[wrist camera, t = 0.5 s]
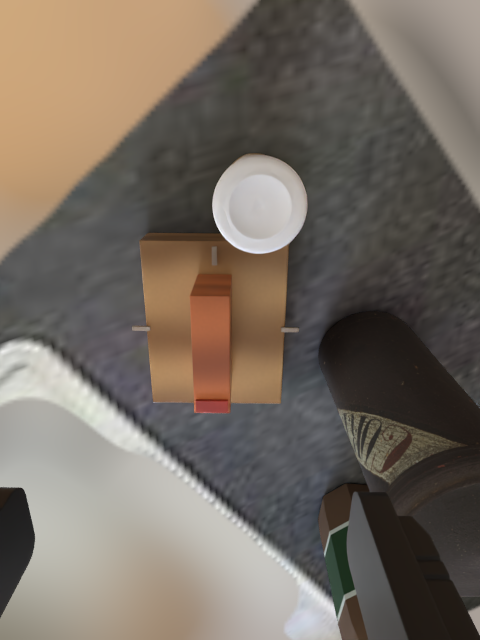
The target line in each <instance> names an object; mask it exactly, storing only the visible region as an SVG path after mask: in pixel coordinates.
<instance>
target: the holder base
mask: <svg viewBox="0 0 480 640" xmlns="http://www.w3.org/2000/svg"><path fill="white" fill-rule="evenodd" d="M140 253H141V265H142V277H143V288H144V300H145V312H146V324H147V326H132V329H133V331H147V335H148V347H149V359H150V371H151V382H152V394H153V402H187V403H194V389H193V365H192V341H191V316H190V294H191V291H192V289H193V286H194V283H195V280H196V277H197V275H198V274H226V275H232V387H231V403H281V390H282V371H283V352H284V332H299V327H285V313H286V294H287V275H288V255H289V243H288V244H287V245H286V246H284V247H282V248H281V249H278V250H276V251H273V252H270V253H263V254H255V253H249V252H245V251H242V250H240V249H238V248H236V247H234V246H233V245H232V244H231V243H229V242H228V241H227V240H226V239H225V238H224V237H223V236H222V234H221V233H147V234H146V235H145V236H144V237H143V238H142V239H141V240H140Z"/></svg>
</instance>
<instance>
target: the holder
mask: <svg viewBox="0 0 480 640" xmlns="http://www.w3.org/2000/svg"><path fill="white" fill-rule="evenodd" d="M190 316H191V341H192V365H193V389H194V412H195V413H230V407H231V387H232V275H226V274H198V275H197V277H196V280H195V283H194V286H193V289H192V291H191V294H190Z"/></svg>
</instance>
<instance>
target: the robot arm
mask: <svg viewBox="0 0 480 640" xmlns="http://www.w3.org/2000/svg"><path fill="white" fill-rule="evenodd" d="M34 542H35V534H34V529H33V524H32V520H31V516H30V511H29V507H28V503H27V498H26V494H25V492H24V490H23V489H22V488H7V487H1V488H0V617H1V615H2V613H3V612H4V610H5V608H6V606H7V604H8V602H9V600H10V598H11V596H12V594H13V592H14V591H15V589H16V587H17V585H18V583H19V581H20V579H21V577H22V575H23V573H24V571H25V570H26V568H27V566H28V564H29V561H30V559H31V557H32V553H33V549H34ZM347 556H348V563H349V567H350V571H351V575H352V579H353V583H354V587H355V590H356V594H357V598H358V602H359V606H360V609H361V613H362V617H363V621H364V625H365V629H366V632H367V636H368V640H480V635H479V633H478V631H477V629H476V627H475V625H474V623H473V621H472V619H471V617H470V615H469V613H468V611H467V609H466V607H465V605H464V603H463V601H462V599H461V597H460V595H459V593H458V591H457V589H456V587H455V585H454V583H453V581H452V580H450V575H449V573H448V571H447V569H446V567H445V565H444V563H443V561H441V559H440V555H439V553H438V551H437V549H436V547H435V545H434V543H433V541H432V539H431V537H430V535H429V534H428V533H427V532H426V531H425V529H424V528H423V527H422V526H421V525H420V524H419V523H418V522H417V521H416V520H415V519H414V518H413V517H412V516H397V513H396V511H395V509H394V506H393V504H392V502H391V499H390V497H389V495H388V494H387V493H386V492H354V493H353V496H352V503H351V510H350V517H349V525H348V532H347Z"/></svg>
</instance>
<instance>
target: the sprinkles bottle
mask: <svg viewBox="0 0 480 640" xmlns="http://www.w3.org/2000/svg"><path fill="white" fill-rule="evenodd" d="M212 207H213V215H214V220H215V222H216V225H217V227H218V229H219V231H220V232H221V234H222V236H223V237H224V238H225V239H226V240H227V241H228V242H229V243H231V244H232V245H233V246H234V247H236V248H238V249H240V250H242V251H245V252H249V253H255V254H263V253H270V252H273V251H276V250H278V249H281V248H282V247H284V246H286V245H287V244H288V243H290V242H291V241H292V240H293V239H294V238H295V237H296V235H297V234H298V233H299V231H300V230H301V228H302V226H303V224H304V221H305V218H306V214H307V194H306V190H305V187H304V185H303V182H302V181H301V179H300V177H299V176H298V174H297V173H296V172H295V171H294V170H293V169H292V168H291V167H290V166H289V165H288V164H286V163H285V162H283V161H281V160H279V159H277V158H274V157H271V156H267V155H264V154H260V153H249V154H245V155H243V156H241V157H239V158H238V159H237V160H236V161H235V162H234V163H233V164H232V165H231V166H230V167H229V168H228V169H227V170H226V171H225V172H224V173H223V175H222V176H221V178H220V179H219V181H218V183H217V185H216V188H215V191H214V195H213V202H212Z"/></svg>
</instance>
